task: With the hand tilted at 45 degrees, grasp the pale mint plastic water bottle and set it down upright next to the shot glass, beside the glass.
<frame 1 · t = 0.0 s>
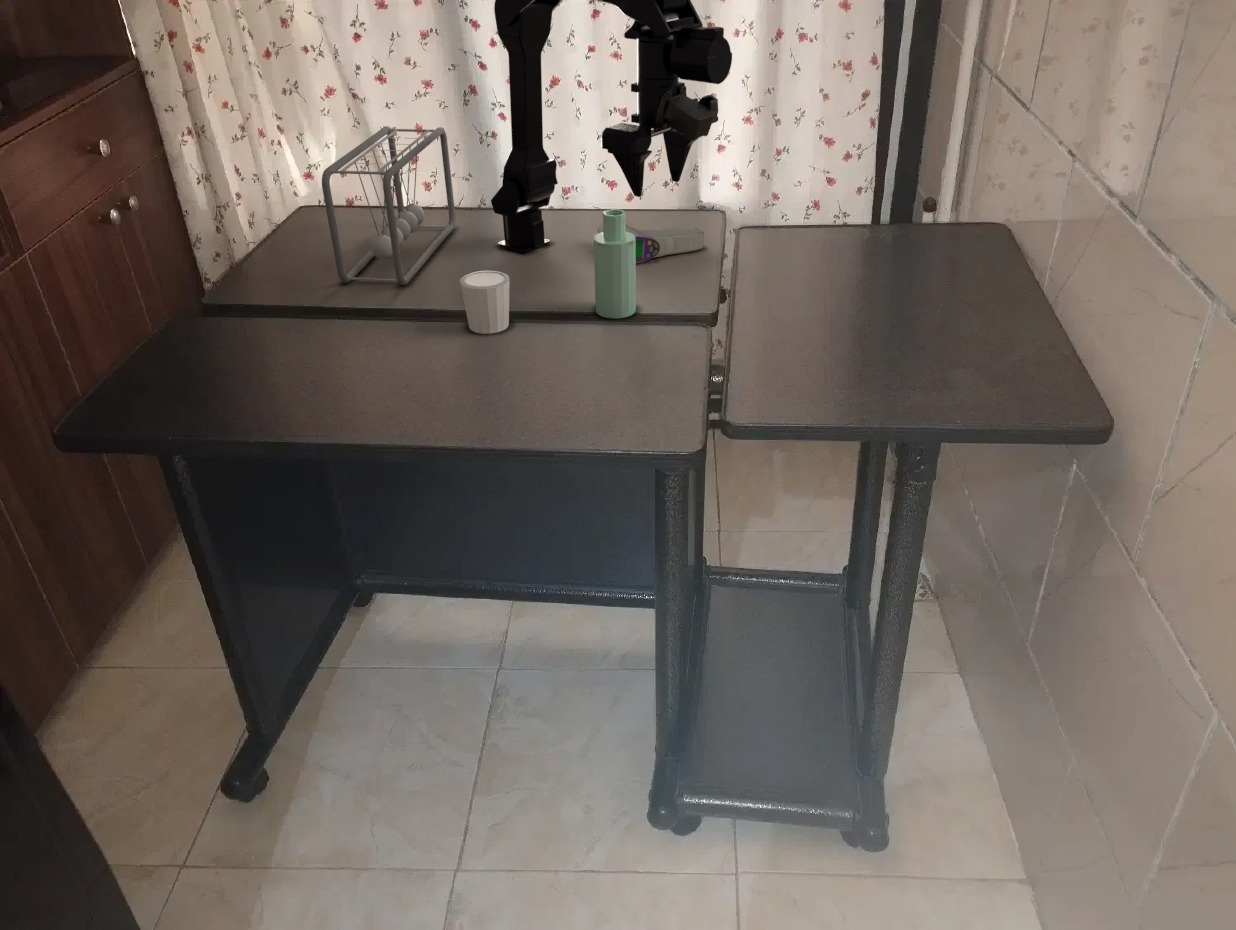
hand: (657, 188, 140), 15 cm above the table, tool pointing down, fingers open, 9 cm apart
infrared thermometer: (650, 248, 162), on the table
shot glass: (489, 326, 136), on the table
water bottle: (615, 310, 140), on the table
newton's cradle: (402, 255, 161), on the table
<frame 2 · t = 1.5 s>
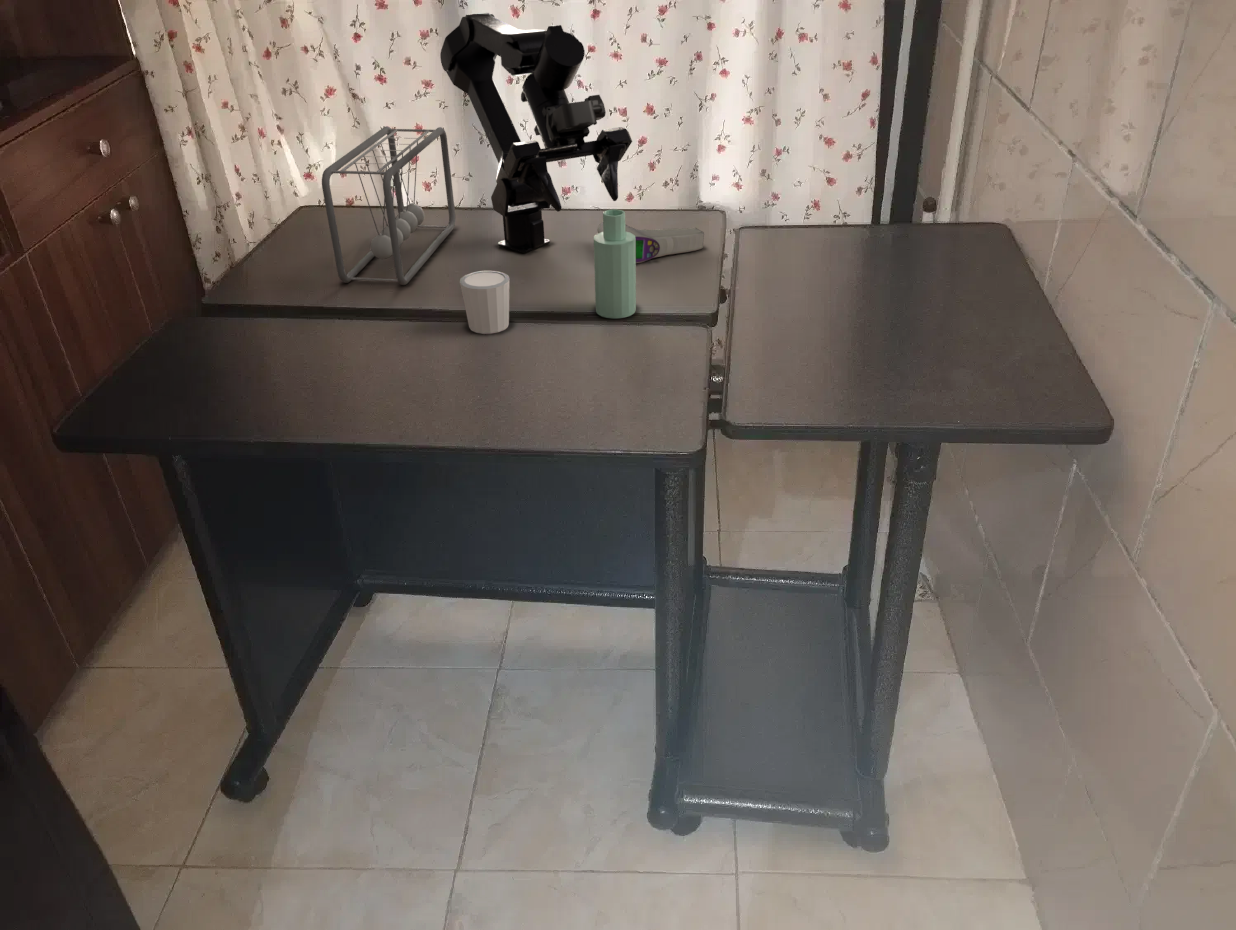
hand: (588, 204, 138), 13 cm above the table, tool tilted 45°, fingers open, 9 cm apart
nothing on the table moved.
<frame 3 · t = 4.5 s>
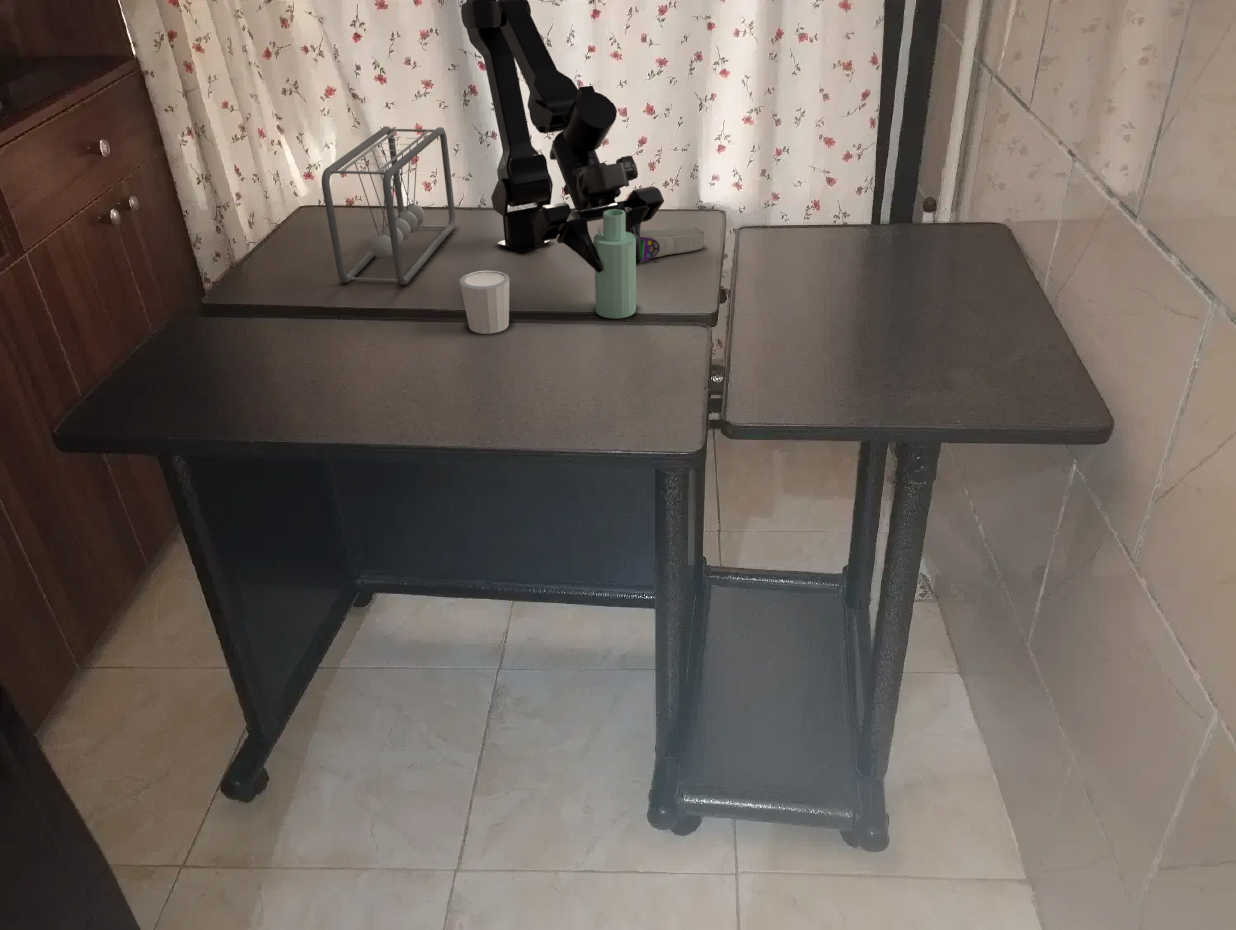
hand: (619, 267, 135), 7 cm above the table, tool tilted 45°, fingers closed on water bottle, 6 cm apart
water bottle: (615, 310, 140), on the table, touching gripper
everything else where it was.
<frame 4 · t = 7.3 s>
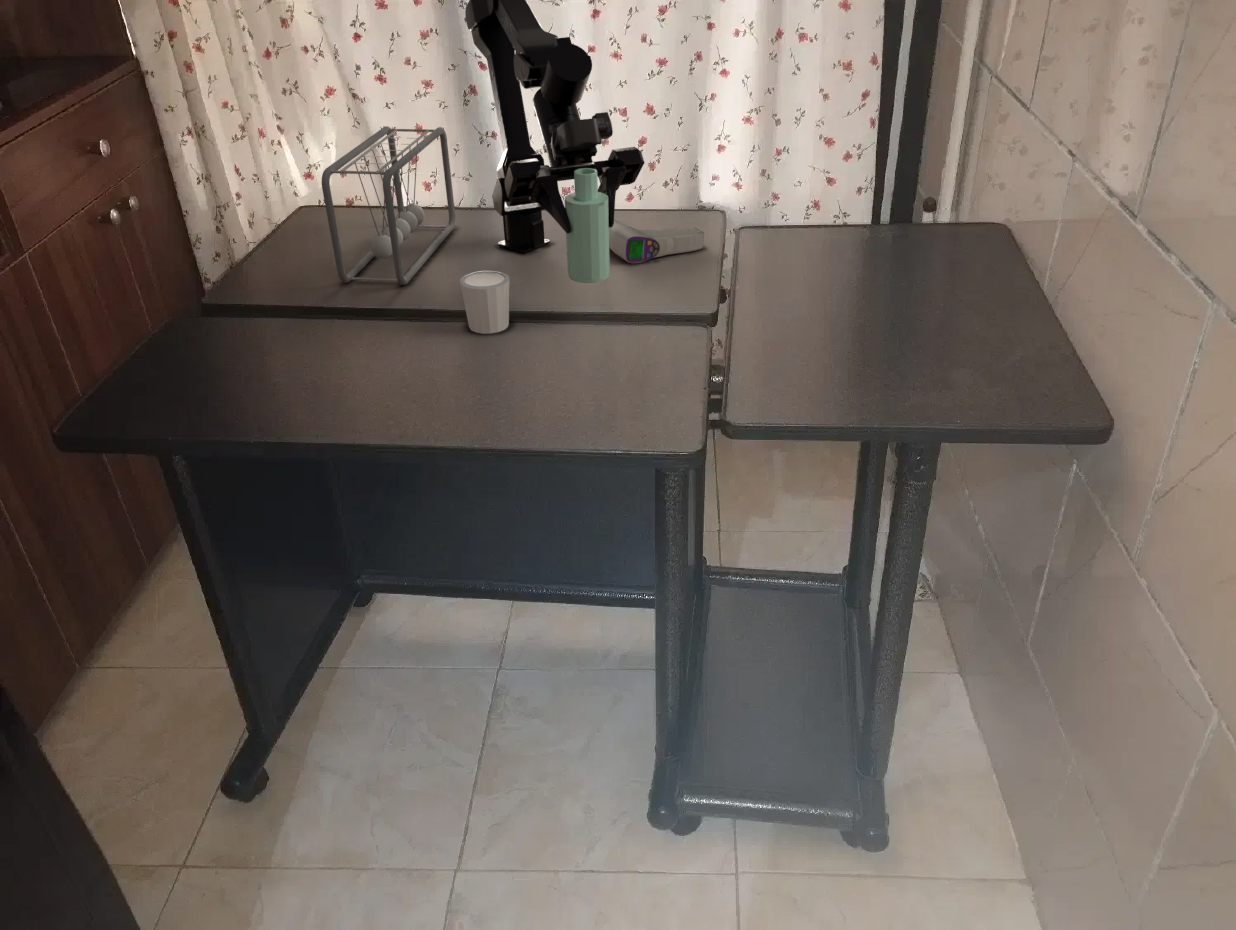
hand: (590, 229, 129), 13 cm above the table, tool tilted 45°, fingers closed on water bottle, 6 cm apart
water bottle: (588, 275, 134), point 6 cm above the table, touching gripper
everything else where it was.
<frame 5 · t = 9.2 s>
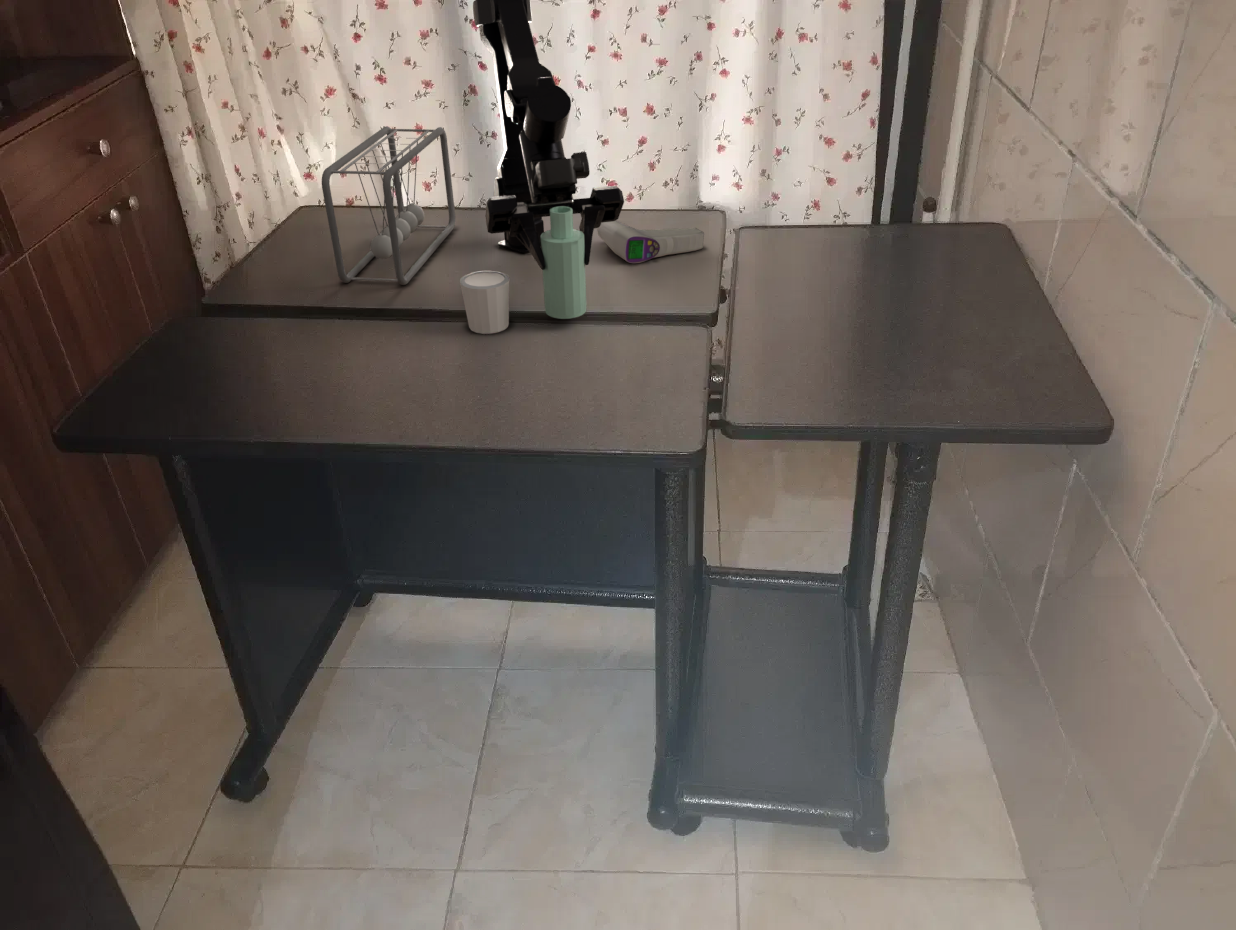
hand: (565, 266, 131), 9 cm above the table, tool tilted 45°, fingers closed on water bottle, 6 cm apart
water bottle: (565, 310, 136), point 2 cm above the table, touching gripper
everything else where it was.
when the fingers open (7 cm above the table, at t = 10.3 s): water bottle stays where it is, on the table.
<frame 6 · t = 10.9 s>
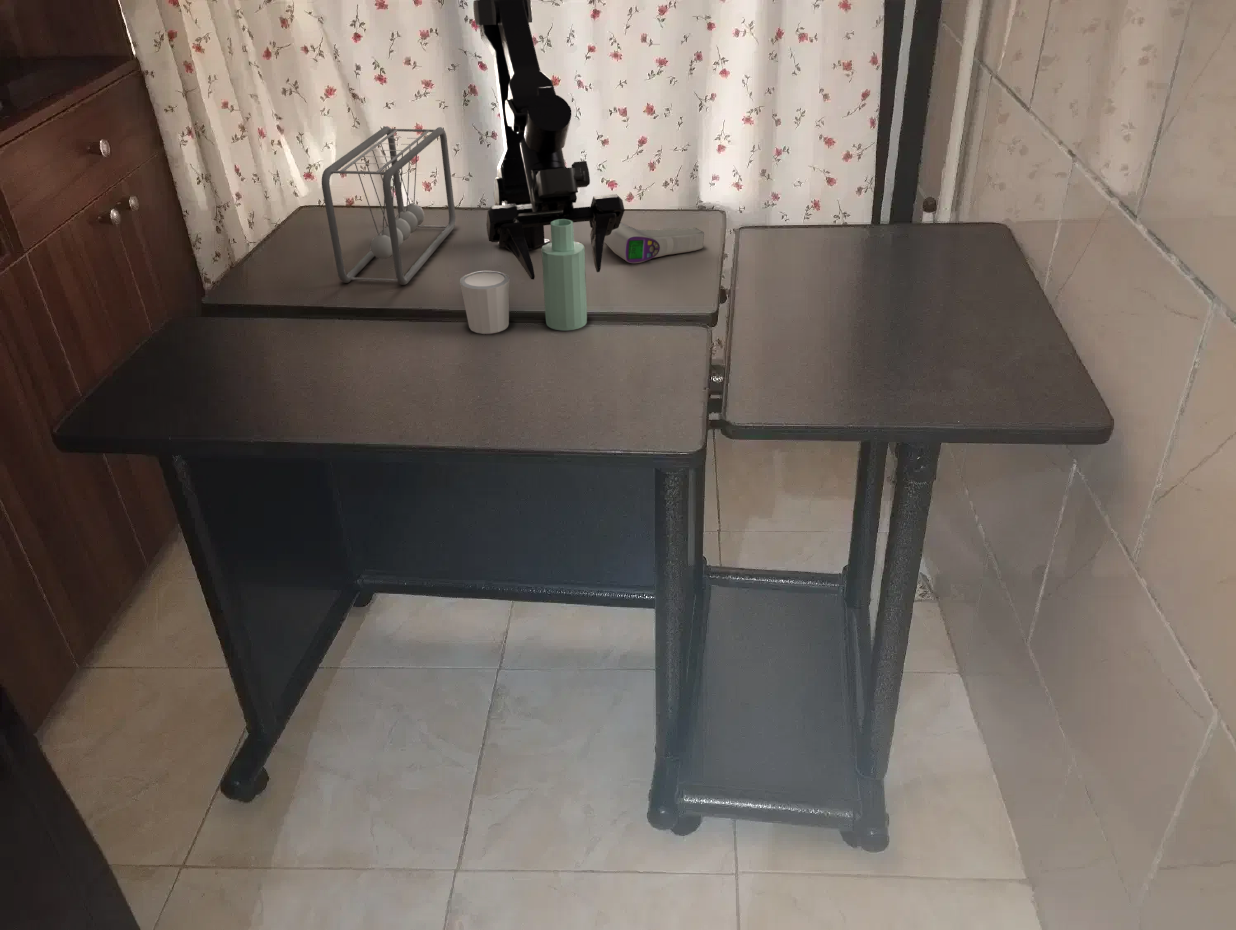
hand: (566, 274, 131), 8 cm above the table, tool tilted 45°, fingers open, 9 cm apart
water bottle: (566, 322, 136), on the table
everything else where it was.
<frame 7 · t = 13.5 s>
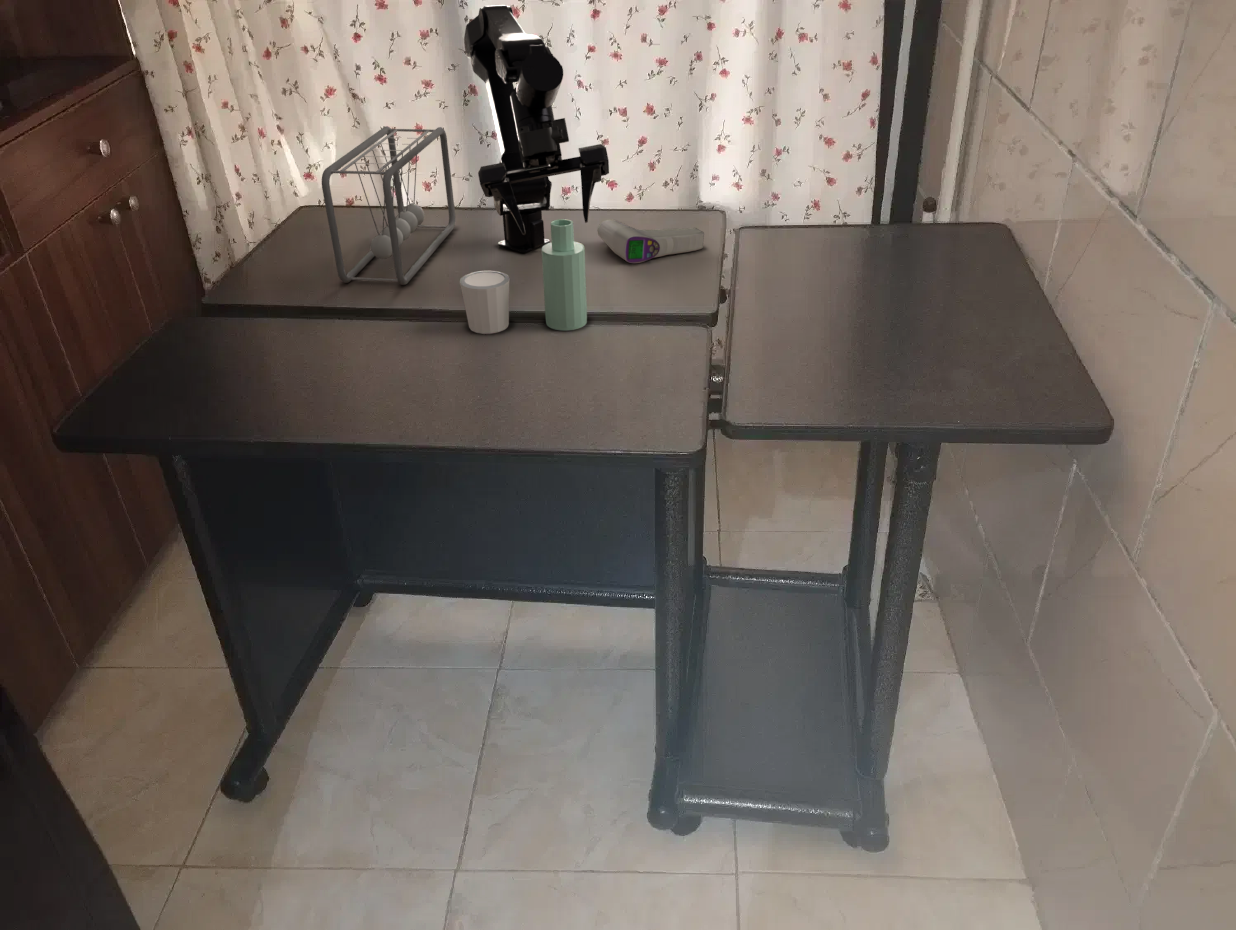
hand: (555, 227, 139), 11 cm above the table, tool tilted 35°, fingers open, 9 cm apart
nothing on the table moved.
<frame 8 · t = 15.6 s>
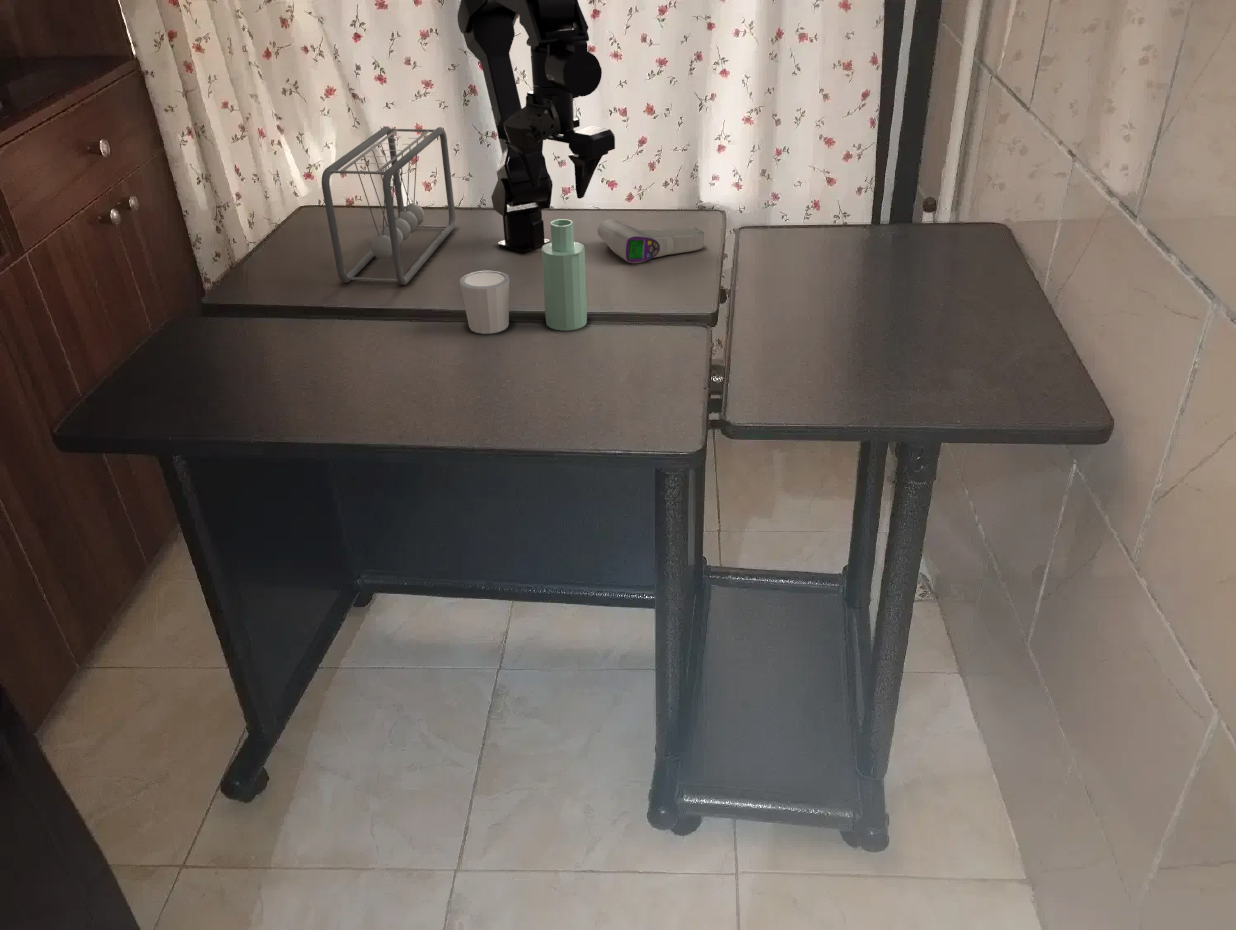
hand: (557, 192, 145), 13 cm above the table, tool pointing down, fingers open, 9 cm apart
nothing on the table moved.
at the end: water bottle 0.2 cm from the target spot, on the table; water bottle 11.0 cm from the shot glass (horizontally); water bottle tilted 0° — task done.
